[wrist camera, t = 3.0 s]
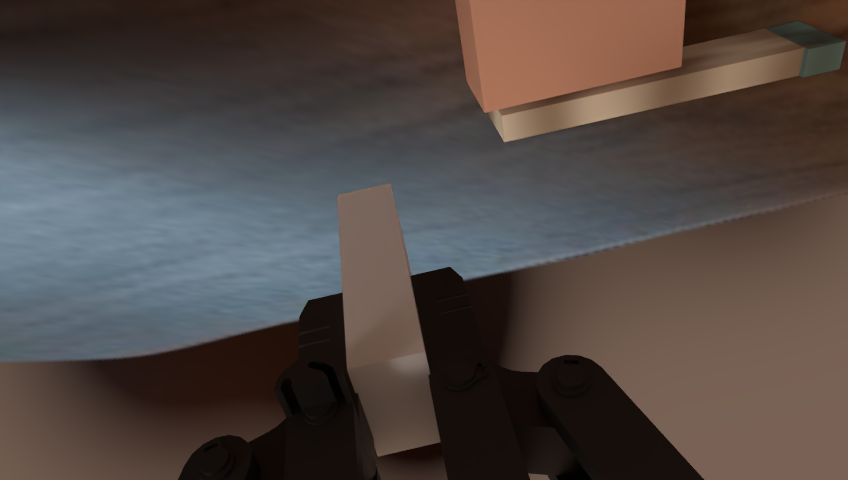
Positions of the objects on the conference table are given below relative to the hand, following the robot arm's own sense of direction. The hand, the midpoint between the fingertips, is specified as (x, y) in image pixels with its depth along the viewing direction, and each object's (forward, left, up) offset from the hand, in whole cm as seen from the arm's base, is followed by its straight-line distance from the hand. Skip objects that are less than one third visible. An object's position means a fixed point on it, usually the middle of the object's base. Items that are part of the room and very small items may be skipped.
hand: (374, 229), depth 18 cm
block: (+11, 0, -18) cm, 21 cm away
